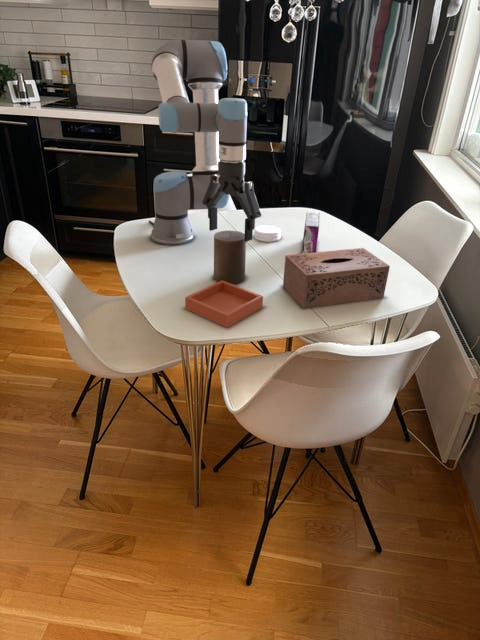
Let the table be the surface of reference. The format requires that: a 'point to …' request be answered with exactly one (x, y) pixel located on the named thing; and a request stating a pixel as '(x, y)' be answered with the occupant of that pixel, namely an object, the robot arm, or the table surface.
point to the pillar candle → (229, 256)
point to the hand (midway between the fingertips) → (230, 234)
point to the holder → (224, 303)
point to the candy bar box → (310, 233)
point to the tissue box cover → (334, 277)
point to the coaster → (267, 233)
